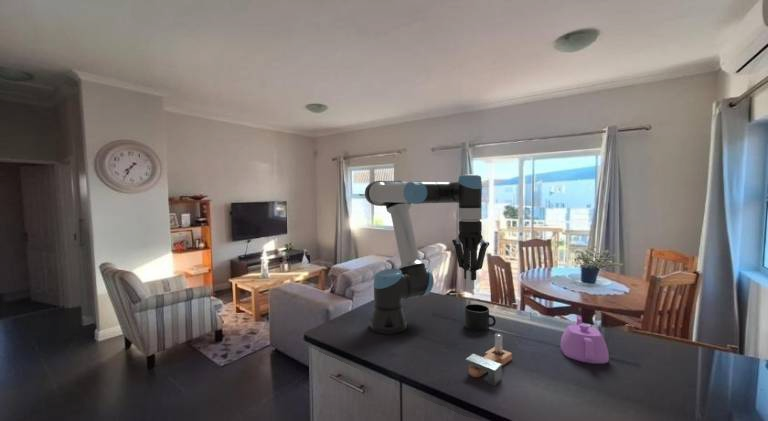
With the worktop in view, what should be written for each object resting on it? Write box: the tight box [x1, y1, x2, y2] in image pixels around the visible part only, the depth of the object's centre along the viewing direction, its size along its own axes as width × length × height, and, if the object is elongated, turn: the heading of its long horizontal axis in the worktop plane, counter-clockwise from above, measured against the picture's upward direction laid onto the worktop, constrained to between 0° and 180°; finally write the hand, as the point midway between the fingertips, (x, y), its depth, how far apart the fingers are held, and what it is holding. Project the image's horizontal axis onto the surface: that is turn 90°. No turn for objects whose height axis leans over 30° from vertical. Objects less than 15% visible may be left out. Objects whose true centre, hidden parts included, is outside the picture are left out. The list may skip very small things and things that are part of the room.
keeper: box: [465, 353, 503, 387], centre depth 92 cm, size 9×4×5 cm, turn 46°
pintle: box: [494, 333, 503, 356], centre depth 102 cm, size 2×2×8 cm
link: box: [468, 346, 513, 378], centre depth 98 cm, size 18×6×2 cm, turn 130°
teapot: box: [560, 315, 610, 365], centre depth 105 cm, size 13×20×11 cm
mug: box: [464, 303, 497, 333], centre depth 127 cm, size 9×12×9 cm
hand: (470, 288), depth 108 cm, fingers closed
